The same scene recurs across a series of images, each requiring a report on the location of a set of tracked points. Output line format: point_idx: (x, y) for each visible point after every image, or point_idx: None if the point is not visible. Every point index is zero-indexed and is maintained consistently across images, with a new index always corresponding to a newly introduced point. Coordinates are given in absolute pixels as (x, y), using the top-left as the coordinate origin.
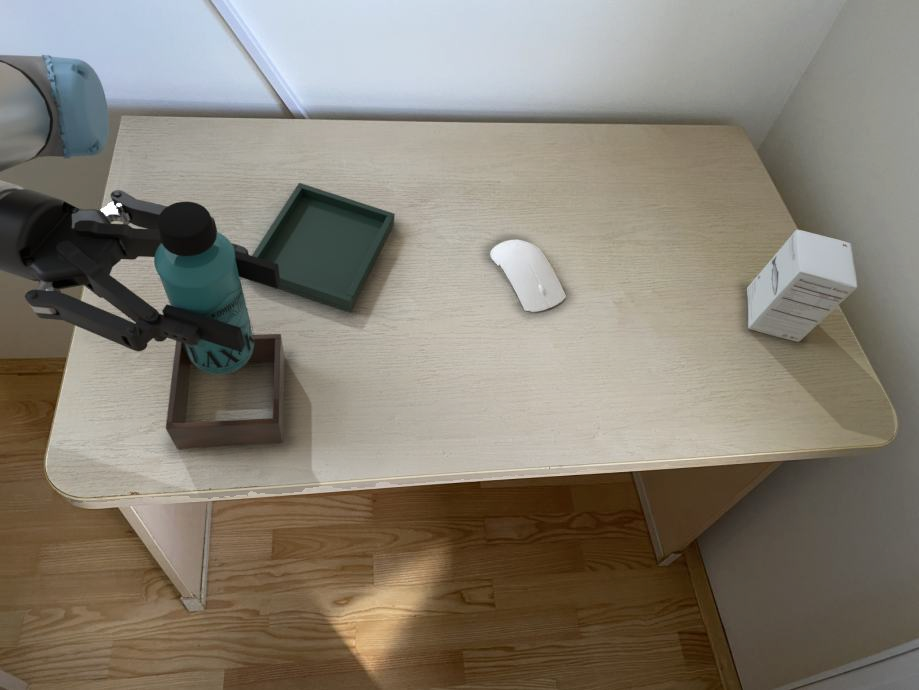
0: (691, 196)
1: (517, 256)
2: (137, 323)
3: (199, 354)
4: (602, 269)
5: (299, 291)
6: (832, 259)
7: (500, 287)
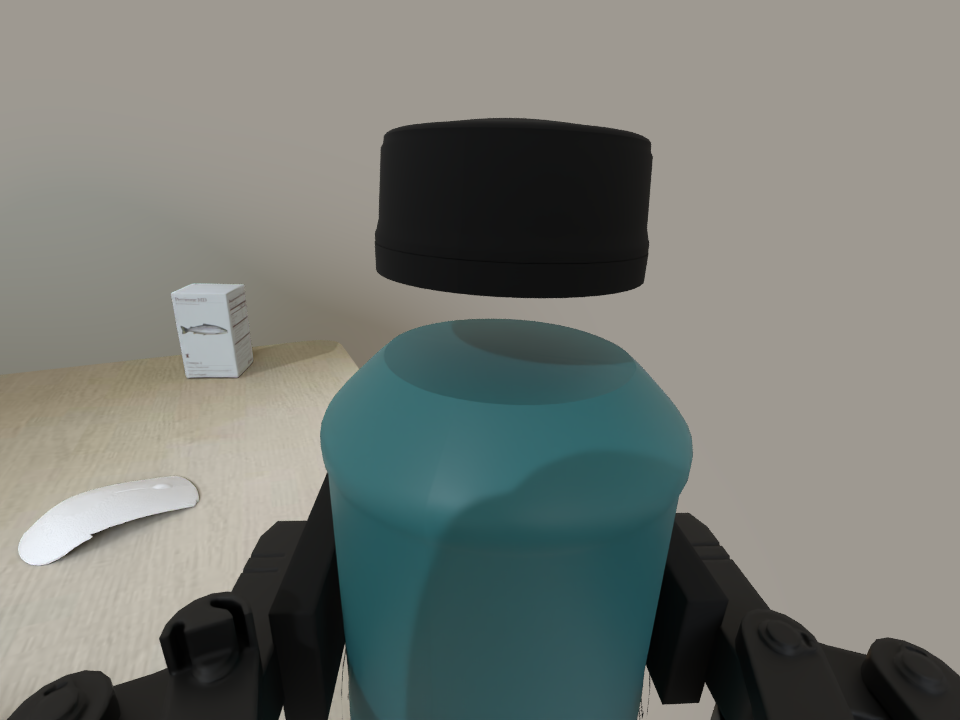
0: (17, 407)
1: (86, 508)
2: (862, 709)
3: None
4: (128, 454)
5: None
6: (212, 286)
7: (137, 538)
